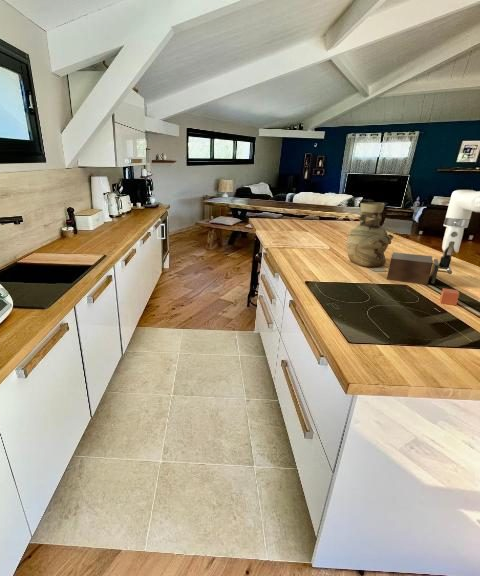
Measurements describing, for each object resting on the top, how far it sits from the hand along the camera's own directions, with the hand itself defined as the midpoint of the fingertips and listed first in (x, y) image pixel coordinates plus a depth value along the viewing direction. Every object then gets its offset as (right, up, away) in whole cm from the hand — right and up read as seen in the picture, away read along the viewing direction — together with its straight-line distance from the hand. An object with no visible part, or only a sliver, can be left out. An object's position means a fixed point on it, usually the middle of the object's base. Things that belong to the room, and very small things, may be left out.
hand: (443, 267), depth 130 cm
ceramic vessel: (-15, +4, +33) cm, 36 cm away
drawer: (-5, -5, +5) cm, 9 cm away
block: (-12, -14, -17) cm, 25 cm away
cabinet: (-10, -4, +8) cm, 14 cm away
